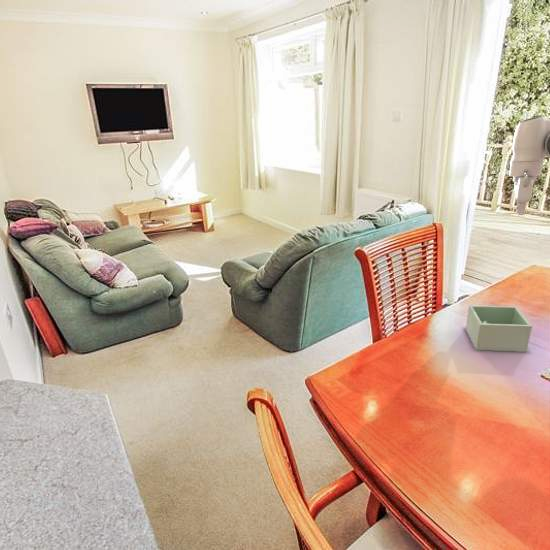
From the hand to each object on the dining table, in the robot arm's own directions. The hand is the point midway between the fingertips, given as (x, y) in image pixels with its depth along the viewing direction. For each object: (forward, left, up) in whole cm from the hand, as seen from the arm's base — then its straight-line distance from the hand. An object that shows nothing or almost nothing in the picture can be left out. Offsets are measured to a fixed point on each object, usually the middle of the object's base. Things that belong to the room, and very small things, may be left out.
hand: (520, 212), depth 126 cm
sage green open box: (+12, +29, -32) cm, 45 cm away
